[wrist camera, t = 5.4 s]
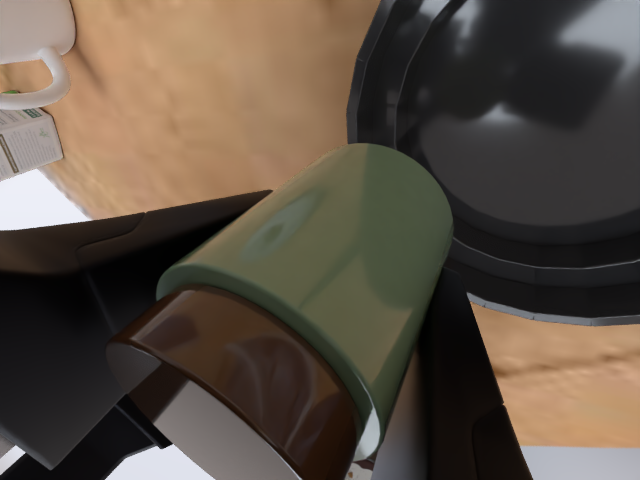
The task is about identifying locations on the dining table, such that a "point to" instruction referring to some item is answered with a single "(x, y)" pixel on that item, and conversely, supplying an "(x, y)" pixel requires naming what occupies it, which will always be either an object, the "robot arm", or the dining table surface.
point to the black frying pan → (519, 143)
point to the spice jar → (293, 321)
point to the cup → (37, 46)
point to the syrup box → (26, 141)
